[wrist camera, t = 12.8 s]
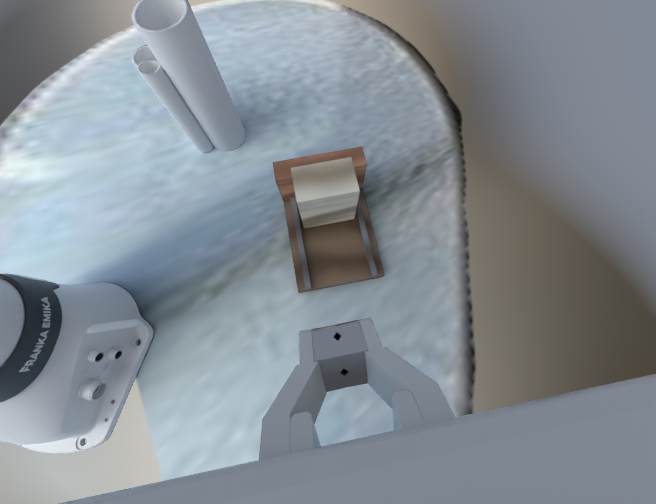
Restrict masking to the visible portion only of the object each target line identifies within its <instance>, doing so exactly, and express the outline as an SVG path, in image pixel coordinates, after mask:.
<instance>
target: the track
mask: <svg viewBox="0 0 656 504" xmlns="http://www.w3.org/2000/svg"><path fill="white" fill-rule="evenodd" d="M349 157H351V158H352V162H353V166H354V170H355V174H356V178H357V182H358V186H359V190H360V193H359V198H358V203H357V208H356V213H355V218H354V219H352V220H347V221H341V222H336V223H331V224H325V225H320V226H315V227H309V228H304V226H303V223H302V219H301V216H300V212H299V209H298V205H297V201H296V196H295V190H294V184H293V179H292V173H291V168H293V167H298V166H304V165H310V164H315V163H321V162H326V161H332V160H338V159H343V158H349ZM273 167H274V174H275V180H276V183H277V186H278V188H279V191H280V193H281V196H282V199H283V201H284V206H285V212H286V219H287V225H288V231H289V237H290V243H291V249H292V255H293V262H294V268H295V274H296V280H297V286H298V292H299V293H302V292H307V291H312V290H317V289H323V288H328V287H333V286H338V285H343V284H348V283H353V282H358V281H363V280H369V279H374V278H379V277H383V276H384V272H383V268H382V264H381V260H380V256H379V252H378V248H377V244H376V240H375V237H374V233H373V229H372V225H371V221H370V217H369V213H368V209H367V205H366V201H365V197H364V193H363V189H362V186H363V181H364V176H365V171H366V167H367V163H366V159H365V155H364V152H363V148H362V147H357V148H352V149H346V150H340V151H335V152H329V153H323V154H318V155H312V156H306V157H301V158H295V159H289V160H284V161H278V162H273Z"/></svg>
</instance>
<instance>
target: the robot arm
mask: <svg viewBox="0 0 656 504" xmlns="http://www.w3.org/2000/svg"><path fill="white" fill-rule="evenodd" d="M153 334H154V332H153V329H152V327H151V326H150V325H149V324H148V323H147V322H146V321H145V320H144V319H143V318H142V317H141V315H140V313H139V310H138V307H137V304H136V302H135V301H134V299H133V297H132V296H131V295H130V294H129V293H128V292H127V291H126V290H125V289H123V288H122V287H120V286H118V285H115V284H111V283H105V282H98V283H91V284H81V285H65V284H56V283H53V282H48V281H47V280H43V279H38V278H32V277H26V276H20V275H13V274H0V441H2V442H6V443H12V444H19V445H21V446H22V447H25V448H27V449H31V450H34V451H38V452H44V453H56V454H64V453H75V452H80V451H83V450H87V449H90V448H92V447H95V446H98V445H99V444H101V443H103V442H105V441H106V440H108V439H109V437H110V436H111V434H112V432H113V429H114V427H115V425H116V422H117V420H118V418H119V415H120V413H121V410H122V408H123V406H124V403H125V401H126V399H127V396H128V394H129V392H130V389H131V387H132V385H133V382H134V380H135V378H136V375H137V373H138V371H139V368H140V366H141V364H142V361H143V359H144V357H145V354H146V352H147V350H148V347H149V345H150V342H151V340H152V338H153ZM140 340H141V344H140V345H139V341H140ZM299 353H300V365H297V366H296V367H295V369H294V370H293V372H292V373H291V375H290V377H289V378H288V380H287V381H286V383H285V384H284V386H283V388H282V389H281V391H280V392H279V394H278V396H277V397H276V399H275V400H274V402H273V404H272V405H271V407H270V408H269V410H268V412H267V413H266V415H265V416H264V418H263V421H262V432H261V442H260V453H259V460H258V461H254V462H249V463H244V464H240V465H235V466H231V467H226V468H221V469H217V470H212V471H207V472H203V473H198V474H194V475H189V476H184V477H180V478H175V479H171V480H166V481H161V482H157V483H153V484H148V485H143V486H138V487H134V488H129V489H124V490H120V491H115V492H111V493H106V494H101V495H97V496H92V497H87V498H83V499H78V500H74V501H69V502H65V503H60V504H656V374H653V375H649V376H644V377H640V378H635V379H630V380H626V381H622V382H617V383H612V384H607V385H603V386H599V387H594V388H589V389H585V390H580V391H575V392H571V393H566V394H562V395H557V396H552V397H548V398H543V399H539V400H534V401H529V402H525V403H520V404H515V405H511V406H506V407H502V408H497V409H492V410H488V411H483V412H479V413H474V414H469V415H465V416H460V417H456V418H455V416H454V414H453V412H452V410H451V408H450V406H449V404H448V403H447V401H446V399H445V397H444V395H443V393H442V391H441V389H440V387H439V386H438V384H437V383H436V382H435V381H434V380H432V379H431V378H429V377H428V376H427V375H425V374H424V373H422V372H421V371H419V370H418V369H417V368H415V367H414V366H412V365H411V364H409V363H408V362H407V361H405V360H404V359H402V358H401V357H400V356H398V355H397V354H395V353H394V352H392V351H391V350H390V349H388V348H387V347H385V348H383V347H382V345H381V342H380V340H379V337H378V334H377V332H376V329H375V327H374V324H373V321H372V319H371V318H365V319H360V320H356V321H351V322H346V323H342V324H337V325H332V326H327V327H321V328H315V329H311V330H305V331H300V332H299ZM367 383H368V384H369V385H370V386H371V387H372V388H373V389H374V390H375V392H376V393H377V394H378V395H379V396H380V397H381V398H382V399H383V400H384V401H385V402H386V403H387V404H388V405H389V406H390V407H391V408H392V409H393V425H394V431H391V432H387V433H382V434H378V435H373V436H368V437H364V438H359V439H355V440H350V441H345V442H341V443H336V444H332V445H327V446H323V447H321V445H320V442H319V439H318V436H317V432H316V429H315V426H314V423H315V421H316V418H317V416H318V413H319V411H320V408H321V406H322V403H323V401H324V398H325V396H326V392H328V391H333V390H337V389H341V388H345V387H350V386H356V385H361V384H367ZM85 439H86V443H85Z"/></svg>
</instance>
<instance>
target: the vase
mask: <svg viewBox="0 0 656 504" xmlns="http://www.w3.org/2000/svg"><path fill="white" fill-rule="evenodd" d="M132 21H133V24H134V26H135V27H136V29H137V30H138V32H139V33H140V35H141V36H142V38H143V39H144V41H145V42H146V44H147V45H144V46H142V47H140V48H138V49H137V50H136V51H135V52H134V53H133V55H132V59H131V60H132V62H133V64H134V66H135V67H136V68H137V70H138V72H139V73H140V74H141V75H142V77H143V78H144V79H145V81H146V82H147V83H148V85H149V86H150V87H151V89H152V90H153V91H154V93H155V94H156V95H157V97H158V98H159V99H160V101H161V102H162V103H163V104H164V106H165V107H166V108H167V110H168V111H169V112H170V114H171V115H172V116H173V118H174V119H175V120H176V122H177V123H178V124H179V126H180V127H181V128H182V130H183V131H184V132H185V134H186V135H187V136H188V137H189V139H190V140H191V141H192V143H193V144H194V145H195V147H196V148H197V149H198V151H199V152H201V153H208V152H210V151H212V149H213V147H215V148H217V149H218V150H220V151H232V150H234V149H237V148H238V147H239V146H241V145H242V143H243V142H244V140H245V137H246V131H245V129H244V127H243V124H242V122H241V120H240V117H239V115H238V113H237V111H236V108H235V106H234V104H233V102H232V99H231V97H230V95H229V93H228V90H227V88H226V86H225V84H224V81H223V79H222V77H221V75H220V72H219V70H218V68H217V66H216V63H215V61H214V59H213V57H212V54H211V52H210V50H209V48H208V45H207V43H206V41H205V38H204V36H203V34H202V32H201V29H200V27H199V25H198V23H197V20H196V18H195V16H194V14H193V11H192V9H191V7H190V5H189V2H188V0H140V1H139V2H138V3H137V4H136V5H135V7H134V9H133V11H132Z"/></svg>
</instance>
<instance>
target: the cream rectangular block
mask: <svg viewBox="0 0 656 504" xmlns="http://www.w3.org/2000/svg"><path fill="white" fill-rule="evenodd" d="M291 173H292V179H293V184H294V190H295V196H296V201H297V205H298V209H299V212H300V216H301V219H302V223H303V226H304V228H309V227H315V226H320V225H325V224H331V223H336V222H341V221H347V220H352V219H354V218H355V213H356V208H357V203H358V198H359V193H360V190H359V186H358V182H357V178H356V174H355V170H354V166H353V162H352V158H351V157H349V158H343V159H338V160H332V161H326V162H321V163H315V164H310V165H304V166H298V167H293V168H291Z"/></svg>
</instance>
